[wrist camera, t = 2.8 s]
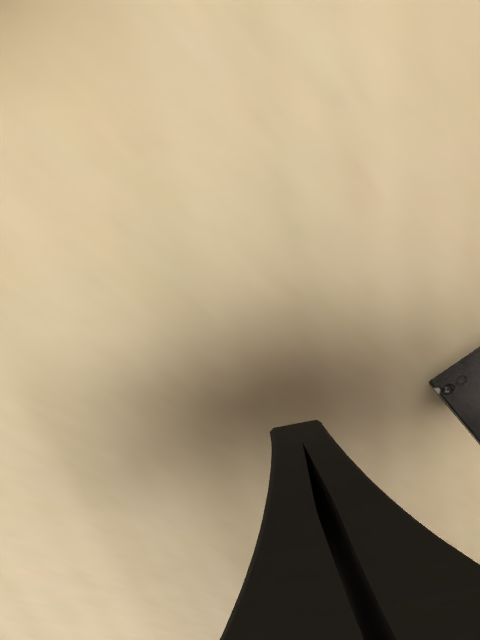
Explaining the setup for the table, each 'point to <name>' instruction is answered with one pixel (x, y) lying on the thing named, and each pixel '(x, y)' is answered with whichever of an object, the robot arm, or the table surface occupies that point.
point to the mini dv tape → (462, 391)
